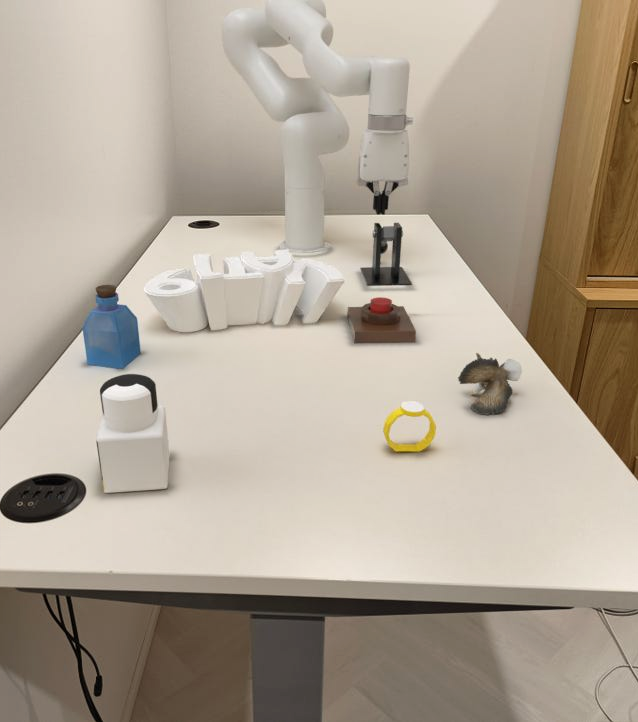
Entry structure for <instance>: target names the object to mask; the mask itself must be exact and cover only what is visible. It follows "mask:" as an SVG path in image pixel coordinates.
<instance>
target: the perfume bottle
mask: <svg viewBox="0 0 638 722" xmlns="http://www.w3.org/2000/svg"><path fill="white" fill-rule="evenodd" d="M116 291H117V286H116V284H115V285H114V284H102V285H98V286H96V287H95V292H96V295H95V303H96V304H97V307H95V308H93V309H92V310H90V311H89V313H88V315H87V318H86V320H85V322H84V324H83V326H82V328H81V329H82V334H83V341H84V349H85V356H86V363H87V365H89V366H96V367H97V366H98V367H103V368H104V367H105V368H111V369H119V370H123V369H124V368H125V367H126V366H128V365H129V364H130V363H131V362H132V361H134V360H135V359H136V358H138V357H139V356H140V355H141V354H142V352H141V351H142V350H141V342H140V332H139V323H138V317H137V316H136V315H135V314H134V313H133V312H132V310H131V309H130V308H129V307H128V306H127V304H118V302H119V300H120V298H119V293H118V292H116Z"/></svg>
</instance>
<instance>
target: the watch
mask: <svg viewBox="0 0 638 722" xmlns="http://www.w3.org/2000/svg"><path fill="white" fill-rule="evenodd" d="M403 416H407V417H410V418H418V417H419V418H420V417H421V416H424V417H425V418H427V419H428V421H429V427H428V428H429V429H428V432H427V433H426V435H425V436H424V437H423V439H421V440H419V441H418V442H416V443H412V444H411V443H410V444H408V443H395V442H394V441H393V440H392V439H390V431H391V427H392V425H393V424H395V422H396V420H398V419H399V418H400V417H403ZM436 429H437V426H436V423H435V421H434V419H433V416H431V414H430V412H429V411H428V410H427V409H426V408H425V406H424V405H423V404H422V403H420V402H418V401H413V400H407V401H403V402H402V403H400V407H398V408H396V409H395V410H393V411H392V412H391V413H390V414H389V415H388V417H386V419H385V420H384V424H383V429H382V430H383V431H382V432H383V434H384V435H383V436H384V438H385V441H386V443H387V445H388V446H389V447H390V448H391V449H392V450H394V452H396V453H398V452H418V453H419V452H420V453H421V451H423V450H424V449H425V450H426V448H428V447H429V446H430V444H431V443H432V442H433V440H434V438H435V436H436V432H437V431H436Z"/></svg>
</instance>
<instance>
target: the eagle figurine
mask: <svg viewBox="0 0 638 722" xmlns="http://www.w3.org/2000/svg"><path fill="white" fill-rule="evenodd" d="M475 356H476V359H474V360H472V361H471V362H469V363H467V364H466V365H465V367H463V369H462V371H461V372H460V374H459V376H458V377H457V380H458V382H459V384H460V385H468V384H471V385H472V384H473V385H475V384H476V385H475V387H473V388H472V391H471V393H470V396H473V395H477V394H479V393H481V392H482V391H483V392H482V393H481V394H480V396H479V397H477V399H476V400H475V401H474V402H472V403H471V405H470V406H469V407H470V408H471V410H472V411H473V412H475V414H476V415H477V414H478V415H487V416H488V415H490V414H492V415H495V414H498V413H500V412H502V411H504V410H505V408H506V407H507V405H508V403H509V400H510V398H511V397H513V389H512V386H511V385H510V383H509V381H511V382H518V381H519V380H520V378H521V376H522V373H523V370H522V365H521V364H520V363H519V362H518V361H516V360H515V359H513V358H508V359H506V361H505V362H503V363H501V364H499V361H498V359H497V358H496V357H495V358H493V357H489V358H483V357H482V356H481V354H480V353H479V352H476V353H475Z"/></svg>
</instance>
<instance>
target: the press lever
mask: <svg viewBox="0 0 638 722" xmlns="http://www.w3.org/2000/svg"><path fill="white" fill-rule="evenodd" d="M393 239H394V225H389V226H387V225H385V226H384V225H383V226H382V242H381V255H383V254H385V253H386V252H387V251H388V247H389V244H388V242H393Z"/></svg>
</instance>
